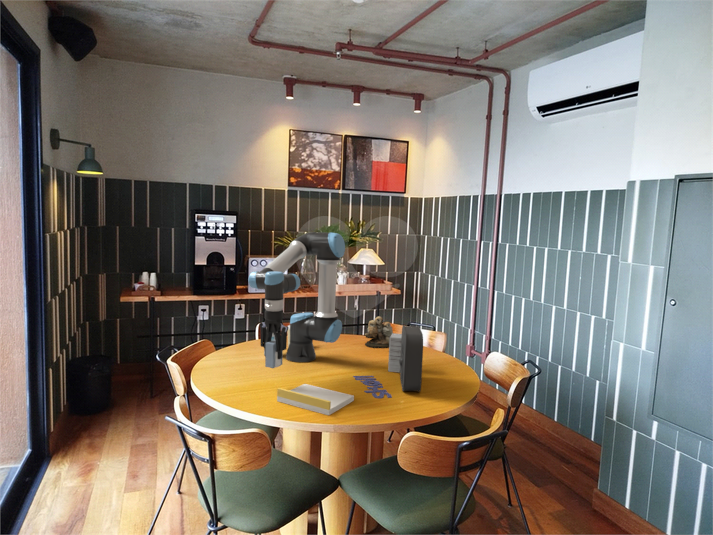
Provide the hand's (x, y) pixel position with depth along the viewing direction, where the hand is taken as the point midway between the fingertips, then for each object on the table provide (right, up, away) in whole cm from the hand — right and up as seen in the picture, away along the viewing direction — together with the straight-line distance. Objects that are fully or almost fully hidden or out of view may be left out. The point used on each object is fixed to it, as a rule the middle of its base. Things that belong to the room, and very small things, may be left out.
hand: (273, 365), depth 200 cm
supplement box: (+55, -9, +35) cm, 65 cm away
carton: (0, 0, 0) cm, 1 cm away
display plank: (+18, -12, -10) cm, 24 cm away
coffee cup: (0, -4, +68) cm, 68 cm away
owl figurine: (+47, -5, +79) cm, 92 cm away
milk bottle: (-10, -5, +51) cm, 52 cm away
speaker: (+57, -12, +13) cm, 60 cm away
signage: (+41, -12, +9) cm, 44 cm away
